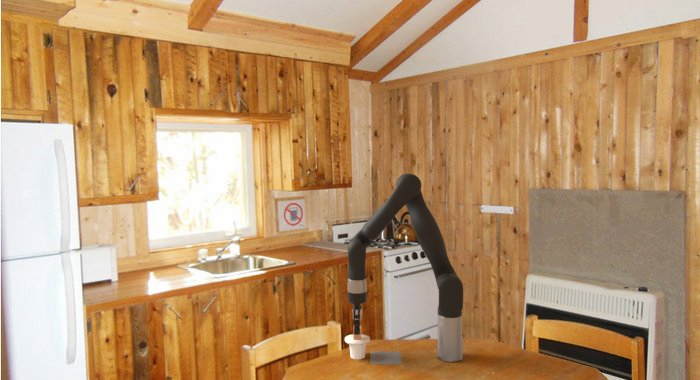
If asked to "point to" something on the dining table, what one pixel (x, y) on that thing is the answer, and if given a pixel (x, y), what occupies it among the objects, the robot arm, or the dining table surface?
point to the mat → (385, 358)
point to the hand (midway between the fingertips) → (357, 330)
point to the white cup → (357, 351)
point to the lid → (357, 339)
